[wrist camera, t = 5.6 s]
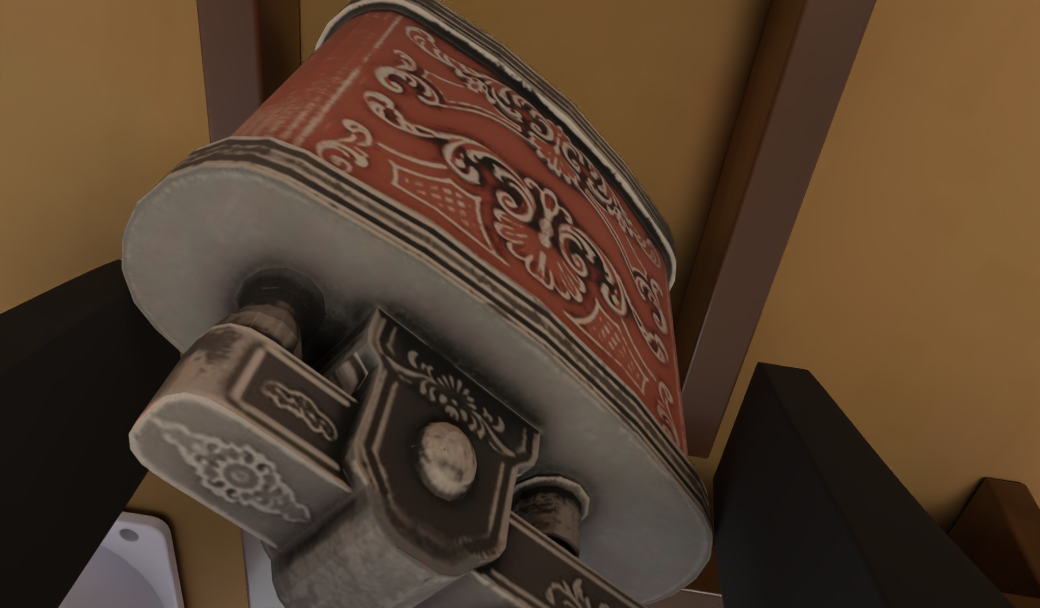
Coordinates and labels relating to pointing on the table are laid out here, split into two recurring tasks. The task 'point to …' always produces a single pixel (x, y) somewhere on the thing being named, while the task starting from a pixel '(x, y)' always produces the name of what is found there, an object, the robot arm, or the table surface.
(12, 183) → the table surface
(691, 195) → the table surface
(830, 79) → the wooden display riser
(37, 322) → the robot arm
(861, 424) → the table surface
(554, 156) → the lighter
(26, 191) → the table surface
